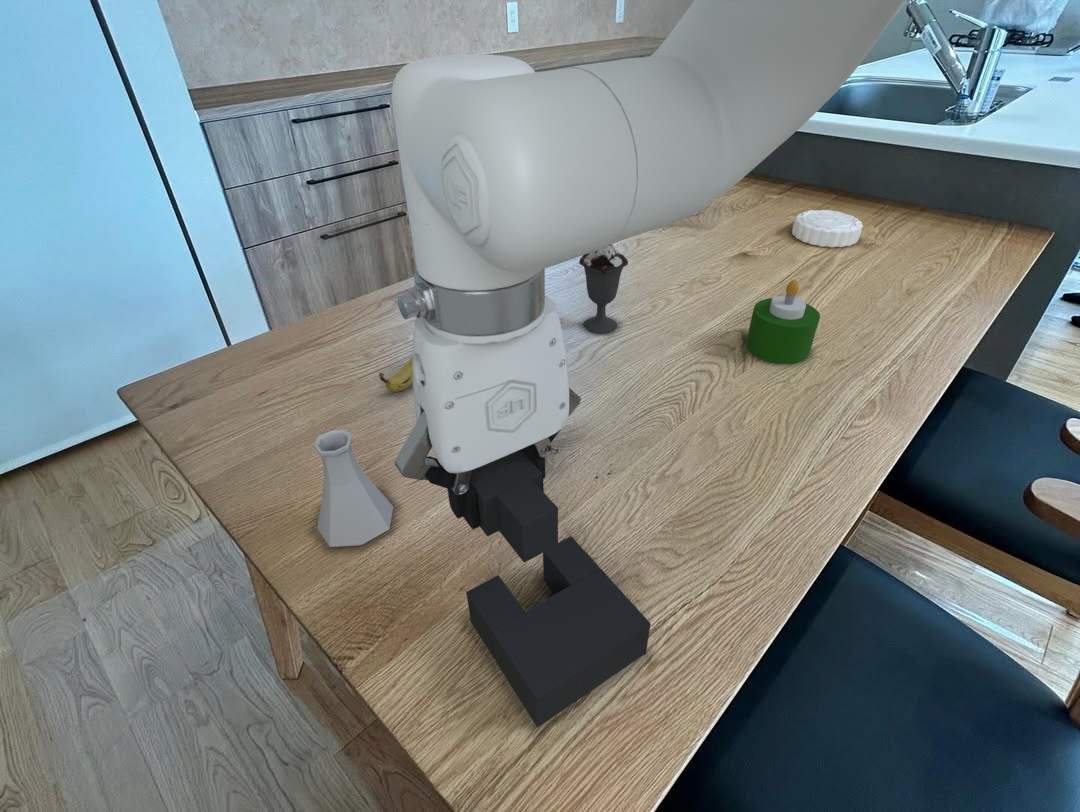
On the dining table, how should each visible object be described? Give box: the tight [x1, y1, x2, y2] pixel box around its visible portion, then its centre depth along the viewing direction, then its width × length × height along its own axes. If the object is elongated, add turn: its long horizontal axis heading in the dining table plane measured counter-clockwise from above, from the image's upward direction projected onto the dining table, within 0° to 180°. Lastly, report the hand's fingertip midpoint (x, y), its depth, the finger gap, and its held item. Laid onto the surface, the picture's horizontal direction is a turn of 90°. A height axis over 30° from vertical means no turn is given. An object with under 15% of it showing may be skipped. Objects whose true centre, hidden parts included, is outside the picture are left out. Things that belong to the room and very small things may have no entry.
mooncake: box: [791, 209, 864, 249], centre depth 112 cm, size 12×12×4 cm
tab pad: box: [471, 450, 559, 563], centre depth 44 cm, size 9×5×4 cm, turn 33°
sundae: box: [578, 244, 629, 334], centre depth 82 cm, size 7×7×15 cm
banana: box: [378, 356, 413, 393], centre depth 74 cm, size 10×2×4 cm, turn 148°
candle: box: [745, 279, 821, 365], centre depth 78 cm, size 8×8×10 cm
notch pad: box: [465, 535, 652, 728], centre depth 45 cm, size 10×10×4 cm
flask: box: [313, 429, 395, 548], centre depth 54 cm, size 7×7×10 cm
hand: (499, 499), depth 46 cm, fingers closed on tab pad, 5 cm apart
